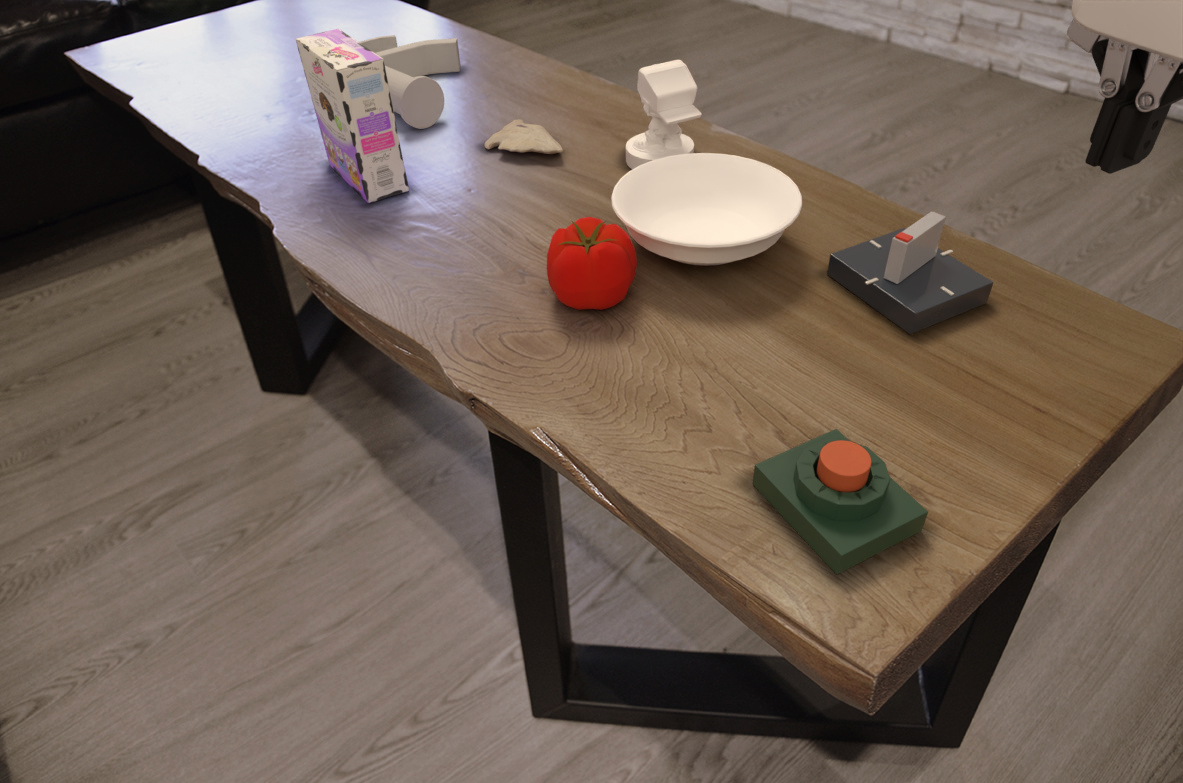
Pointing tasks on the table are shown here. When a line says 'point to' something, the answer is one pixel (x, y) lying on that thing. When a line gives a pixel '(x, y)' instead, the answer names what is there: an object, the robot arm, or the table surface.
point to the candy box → (354, 113)
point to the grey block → (914, 247)
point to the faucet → (416, 75)
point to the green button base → (838, 505)
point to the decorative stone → (524, 139)
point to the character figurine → (664, 112)
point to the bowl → (706, 207)
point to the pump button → (843, 466)
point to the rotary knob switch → (909, 284)
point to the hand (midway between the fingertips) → (1113, 162)
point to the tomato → (591, 264)
